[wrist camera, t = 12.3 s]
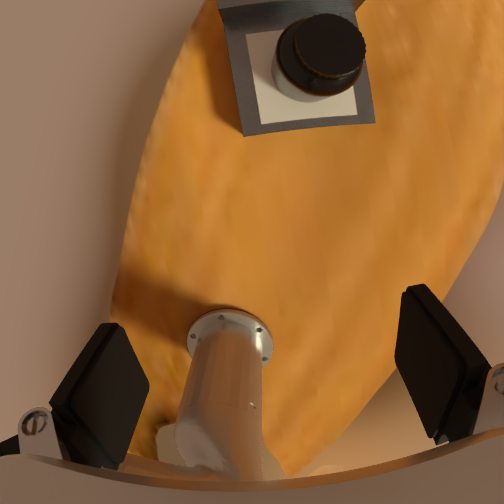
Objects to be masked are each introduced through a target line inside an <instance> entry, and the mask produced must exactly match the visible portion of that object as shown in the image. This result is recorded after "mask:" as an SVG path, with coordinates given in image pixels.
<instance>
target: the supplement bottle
mask: <svg viewBox="0 0 504 504" xmlns="http://www.w3.org/2000/svg"><path fill="white" fill-rule="evenodd" d="M365 47H366V44H365V42H364V38H363V37H362V33H361V32H360V31H359V30H358V28H357V27H356V26H354V24H353V23H352V22H349V20H348V19H346V18H343V17H342V16H337V15H335V14H329V13H325V14H321V13H320V14H318V15H313V16H312V17H307V18H302V19H299V20H297V21H295V22H293V23H291V24H290V25H289V26H288V27H286V28H285V30H284V31H283V32H282V33H281V35H280V37H279V39H278V41H277V44H276V48H275V52H274V56H273V59H272V65H271V73H272V78H273V81H274V83H275V85H276V86H277V88H278V89H279V90H280V91H281V92H282V93H283V94H284V95H286V96H287V97H289V98H290V99H293V100H295V101H299V102H305V103H311V102H317V101H320V100H323V99H326V98H329V97H332V96H335V95H338V94H340V93H342V92H344V91H346V90H348V89H349V88H350V87H352V86H353V85H354V84H355V82H356V81H357V80H358V78H359V76H360V74H361V71H362V68H363V59H364V58H365V53H366V49H365Z"/></svg>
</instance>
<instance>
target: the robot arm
mask: <svg viewBox="0 0 504 504" xmlns="http://www.w3.org/2000/svg"><path fill="white" fill-rule="evenodd" d="M187 348H188V351H189V354H190V355H191V357H192V362H191V366H190V369H189V373H188V377H187V381H186V384H185V388H184V392H183V396H182V399H181V403H180V407H179V411H178V415H177V419H176V423H175V428H174V437H175V442H176V446H177V448H178V451H179V453H180V455H181V457H182V458H183V460H184V462H185V463H186V465H187V466H188V467H186V466H180V465H178V466H177V465H173V464H168V463H164V462H160V461H156V460H152V459H148V458H144V457H141V456H137V455H133V454H130V453H127V451H128V448H129V445H130V442H131V439H132V436H133V433H134V431H135V428H136V425H137V422H138V419H139V417H140V414H141V411H142V408H143V406H144V403H145V400H146V397H147V395H148V392H149V382H148V379H147V377H146V375H145V373H144V371H143V369H142V367H141V365H140V363H139V361H138V359H137V357H136V355H135V352H134V350H133V348H132V346H131V344H130V341H129V339H128V337H127V335H126V332H125V330H124V328H123V327H121V326H119V324H118V323H102V324H101V325H100V326H99V327H98V329H97V330H96V331H95V333H94V335H93V336H92V337H91V339H90V340H89V342H88V343H87V344H86V346H85V347H84V349H83V350H82V352H81V353H80V355H79V356H78V358H77V359H76V361H75V362H74V364H73V365H72V367H71V368H70V370H69V371H68V373H67V374H66V376H65V377H64V379H63V381H62V382H61V384H60V385H59V387H58V389H57V390H56V392H55V393H54V395H53V396H52V398H51V400H50V401H49V404H50V405H51V407H52V408H53V409H52V411H51V412H50V411H49V410H48V409H47V408H44V407H37V408H34V409H31V410H29V411H28V412H26V413H25V414H24V415H23V416H22V418H21V419H20V421H19V424H18V434H17V435H16V436H14V437H11V438H9V439H7V440H5V441H3V442H1V443H0V504H504V363H500V364H497V365H495V366H494V367H491V366H490V364H489V363H488V361H487V360H486V358H485V357H484V356H483V354H482V353H481V352H480V350H479V349H478V348H477V346H476V345H475V344H474V342H473V341H472V340H471V339H470V337H469V336H468V335H467V333H466V332H465V331H464V330H463V329H462V327H461V326H460V325H459V324H458V322H457V321H456V320H455V319H454V318H453V316H452V315H451V314H450V313H449V311H448V310H447V309H446V308H445V307H444V306H443V304H442V303H441V302H440V301H439V300H438V299H437V297H436V296H435V295H434V294H433V293H432V292H431V290H430V289H429V288H428V287H427V286H426V285H425V284H418V285H413V286H408V287H407V289H406V292H403V293H402V296H401V307H400V317H399V325H398V333H397V341H396V348H395V363H396V366H397V368H398V370H399V372H400V374H401V376H402V378H403V381H404V383H405V385H406V387H407V389H408V391H409V394H410V396H411V398H412V401H413V403H414V405H415V407H416V410H417V412H418V414H419V417H420V419H421V421H422V424H423V426H424V428H425V431H426V433H427V436H428V437H429V438H433V439H434V441H435V444H436V445H439V444H442V443H444V442H447V441H449V443H448V444H445V445H442V446H439V447H436V448H433V449H430V450H427V451H424V452H421V453H418V454H414V455H411V456H407V457H404V458H400V459H397V460H392V461H389V462H385V463H381V464H377V465H373V466H368V467H364V468H359V469H354V470H349V471H344V472H338V473H332V474H325V475H319V476H311V477H303V478H294V479H284V480H270V481H264V476H263V469H262V368H263V367H265V365H266V364H267V363H268V362H269V360H270V358H271V356H272V352H273V340H272V336H271V334H270V331H269V330H268V328H267V327H266V325H265V324H264V323H263V322H261V321H260V320H259V319H258V318H256V317H255V316H253V315H251V314H248V313H246V312H243V311H239V310H233V309H220V310H215V311H211V312H208V313H206V314H204V315H202V316H201V317H199V318H198V319H197V320H196V321H195V322H194V323H193V324H192V326H191V328H190V330H189V333H188V336H187Z"/></svg>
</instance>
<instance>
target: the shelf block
mask: <svg viewBox="0 0 504 504" xmlns="http://www.w3.org/2000/svg"><path fill="white" fill-rule="evenodd" d="M364 1H365V0H220V1H217V6H218V10H219V13H220V15H221V18H222V21H223V24H224V30H225V35H226V41H227V46H228V52H229V58H230V63H231V69H232V75H233V80H234V86H235V92H236V98H237V103H238V109H239V115H240V121H241V127H242V133H243V137H246V136H252V135H259V134H266V133H273V132H280V131H288V130H296V129H305V128H315V127H326V126H338V125H352V124H370V123H375V116H374V108H373V101H372V95H371V88H370V82H369V77H368V71H367V66H366V60H365V58H364V59H363V68H362V71H361V74H360V76H359V78H358V80H357V81H356V82H355V84H354V85H353V86H352V87H350V88H349V89H348V90H346V91H344V92H342V93H340V94H338V95H335V96H332V97H329V98H326V99H323V100H320V101H317V102H311V103H305V102H299V101H295V100H293V99H290V98H289V97H287V96H286V95H284V94H283V93H282V92H281V91H280V90H279V89H278V88H277V86H276V85H275V83H274V81H273V78H272V73H271V65H272V59H273V56H274V52H275V48H276V44H277V41H278V39H279V37H280V35H281V33H282V32H283V31H284V30H285V28H286V27H288V26H289V25H290V24H291V23H293V22H295V21H297V20H299V19H302V18H307V17H312V16H313V15H318V14H320V13H321V14H325V13H329V14H335V15H337V16H342V17H343V18H346V19H348V20H349V22H352V23H353V24H354V26H356V27H357V28H358V24H357V20H356V16H355V11H356V10H357V9H358V8H359V7H360V6H361V5H362V3H363V2H364ZM358 30H359V28H358Z"/></svg>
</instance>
